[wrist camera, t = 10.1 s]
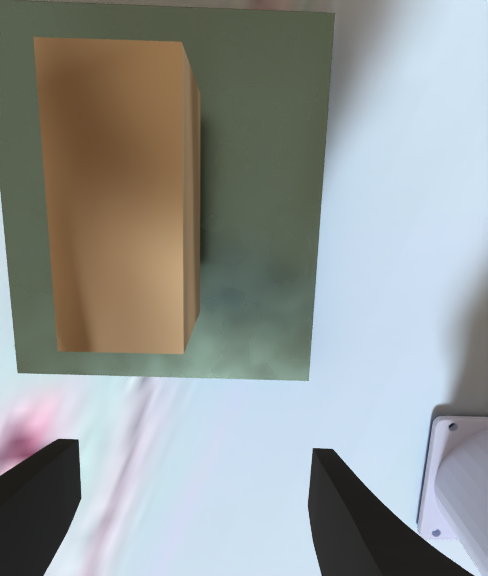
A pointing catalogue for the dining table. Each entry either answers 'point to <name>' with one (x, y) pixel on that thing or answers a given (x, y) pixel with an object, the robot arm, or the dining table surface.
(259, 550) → the dining table surface
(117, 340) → the oak block
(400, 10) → the dining table surface
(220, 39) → the green slab
